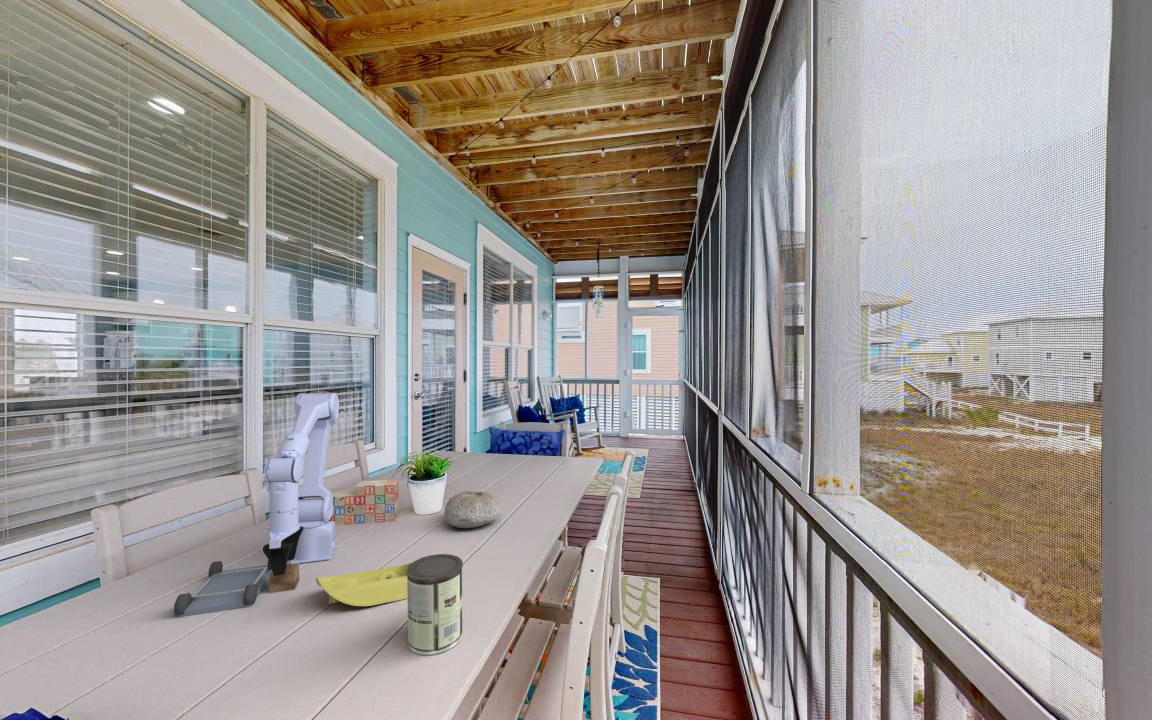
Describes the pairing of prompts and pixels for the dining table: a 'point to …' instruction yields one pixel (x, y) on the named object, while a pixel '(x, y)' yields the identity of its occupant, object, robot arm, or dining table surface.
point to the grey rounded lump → (472, 509)
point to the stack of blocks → (366, 503)
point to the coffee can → (434, 604)
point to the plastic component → (367, 586)
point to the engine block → (285, 579)
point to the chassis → (224, 590)
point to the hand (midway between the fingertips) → (284, 567)
